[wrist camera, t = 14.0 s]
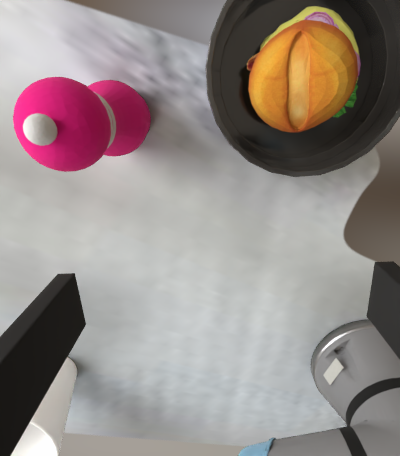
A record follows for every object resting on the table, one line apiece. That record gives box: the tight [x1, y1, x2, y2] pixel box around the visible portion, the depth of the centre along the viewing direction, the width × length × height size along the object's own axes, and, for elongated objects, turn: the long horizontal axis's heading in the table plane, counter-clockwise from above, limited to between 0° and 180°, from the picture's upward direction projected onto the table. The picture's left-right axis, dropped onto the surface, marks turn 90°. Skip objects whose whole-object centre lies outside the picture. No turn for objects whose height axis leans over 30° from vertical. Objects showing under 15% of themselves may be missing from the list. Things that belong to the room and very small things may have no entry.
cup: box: [11, 357, 77, 456], centre depth 44 cm, size 12×12×12 cm
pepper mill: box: [13, 77, 151, 172], centre depth 27 cm, size 7×7×20 cm
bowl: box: [206, 0, 400, 177], centre depth 31 cm, size 19×19×6 cm
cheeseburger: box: [247, 6, 361, 133], centre depth 30 cm, size 10×11×10 cm
